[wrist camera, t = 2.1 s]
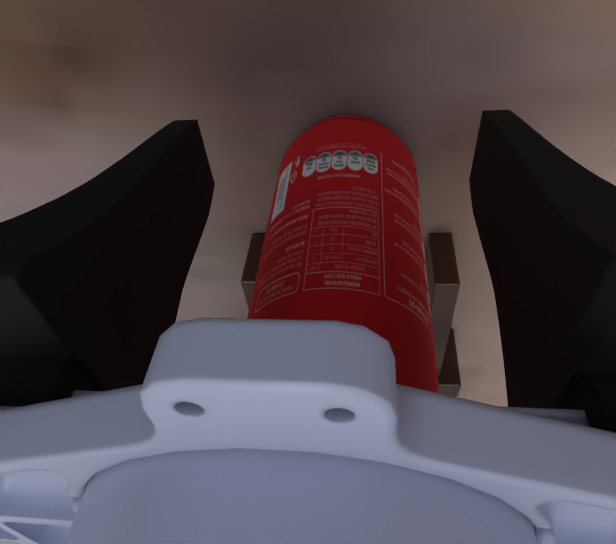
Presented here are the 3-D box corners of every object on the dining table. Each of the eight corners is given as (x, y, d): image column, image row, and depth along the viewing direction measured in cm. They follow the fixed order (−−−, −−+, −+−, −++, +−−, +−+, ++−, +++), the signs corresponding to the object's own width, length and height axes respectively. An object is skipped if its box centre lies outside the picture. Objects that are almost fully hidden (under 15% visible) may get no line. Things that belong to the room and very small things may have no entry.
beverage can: (435, 121, 18) (489, 443, 9) (390, 225, 21) (401, 518, 13) (294, 89, 17) (226, 398, 9) (274, 200, 21) (213, 488, 13)
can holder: (450, 341, 27) (458, 397, 25) (258, 336, 29) (248, 389, 26) (475, 233, 21) (488, 294, 19) (231, 233, 23) (214, 290, 20)
